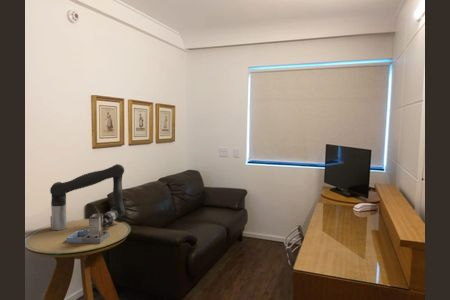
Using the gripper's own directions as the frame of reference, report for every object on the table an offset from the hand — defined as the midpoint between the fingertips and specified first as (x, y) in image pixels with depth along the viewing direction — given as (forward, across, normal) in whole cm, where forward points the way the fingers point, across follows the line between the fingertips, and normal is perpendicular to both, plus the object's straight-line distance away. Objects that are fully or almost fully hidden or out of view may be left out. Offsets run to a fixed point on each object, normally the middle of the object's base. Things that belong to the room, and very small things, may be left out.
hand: (97, 225), depth 198 cm
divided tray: (+1, -5, +9) cm, 10 cm away
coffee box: (+1, 0, +9) cm, 9 cm away
